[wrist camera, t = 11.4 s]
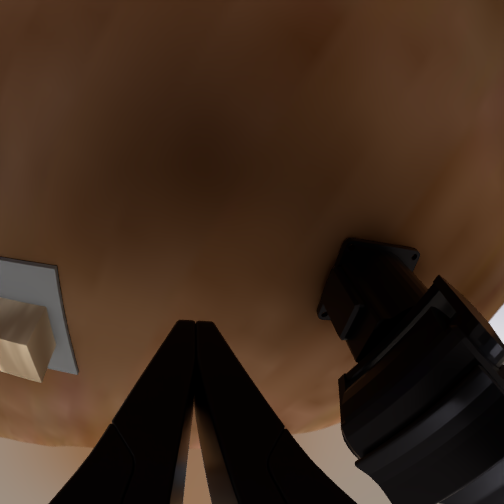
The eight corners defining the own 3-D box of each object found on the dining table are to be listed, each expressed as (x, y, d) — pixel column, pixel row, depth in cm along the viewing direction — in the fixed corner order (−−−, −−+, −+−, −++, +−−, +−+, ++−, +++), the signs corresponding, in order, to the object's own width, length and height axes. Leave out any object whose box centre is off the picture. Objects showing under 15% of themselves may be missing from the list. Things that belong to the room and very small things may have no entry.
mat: (56, 265, 18) (54, 269, 17) (78, 371, 23) (77, 374, 23) (-43, 248, 16) (-46, 251, 15) (-9, 349, 21) (-11, 351, 20)
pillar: (26, 345, 15) (-54, 321, 14) (41, 382, 17) (-36, 358, 15) (46, 306, 19) (-31, 289, 17) (56, 344, 21) (-18, 326, 19)
